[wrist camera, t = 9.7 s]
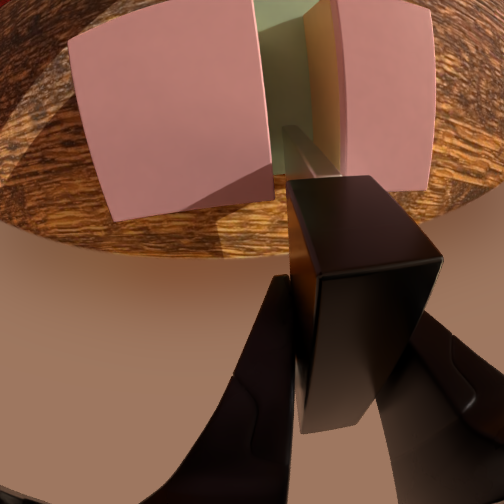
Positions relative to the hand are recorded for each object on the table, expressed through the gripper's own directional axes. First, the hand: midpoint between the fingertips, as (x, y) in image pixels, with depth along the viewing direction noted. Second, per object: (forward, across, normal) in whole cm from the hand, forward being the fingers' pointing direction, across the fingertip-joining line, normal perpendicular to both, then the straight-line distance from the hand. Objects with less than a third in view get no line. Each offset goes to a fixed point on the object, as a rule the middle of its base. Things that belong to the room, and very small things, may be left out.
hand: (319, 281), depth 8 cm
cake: (+5, +3, -5) cm, 8 cm away
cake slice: (+5, -2, -5) cm, 8 cm away
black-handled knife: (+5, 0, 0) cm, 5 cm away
